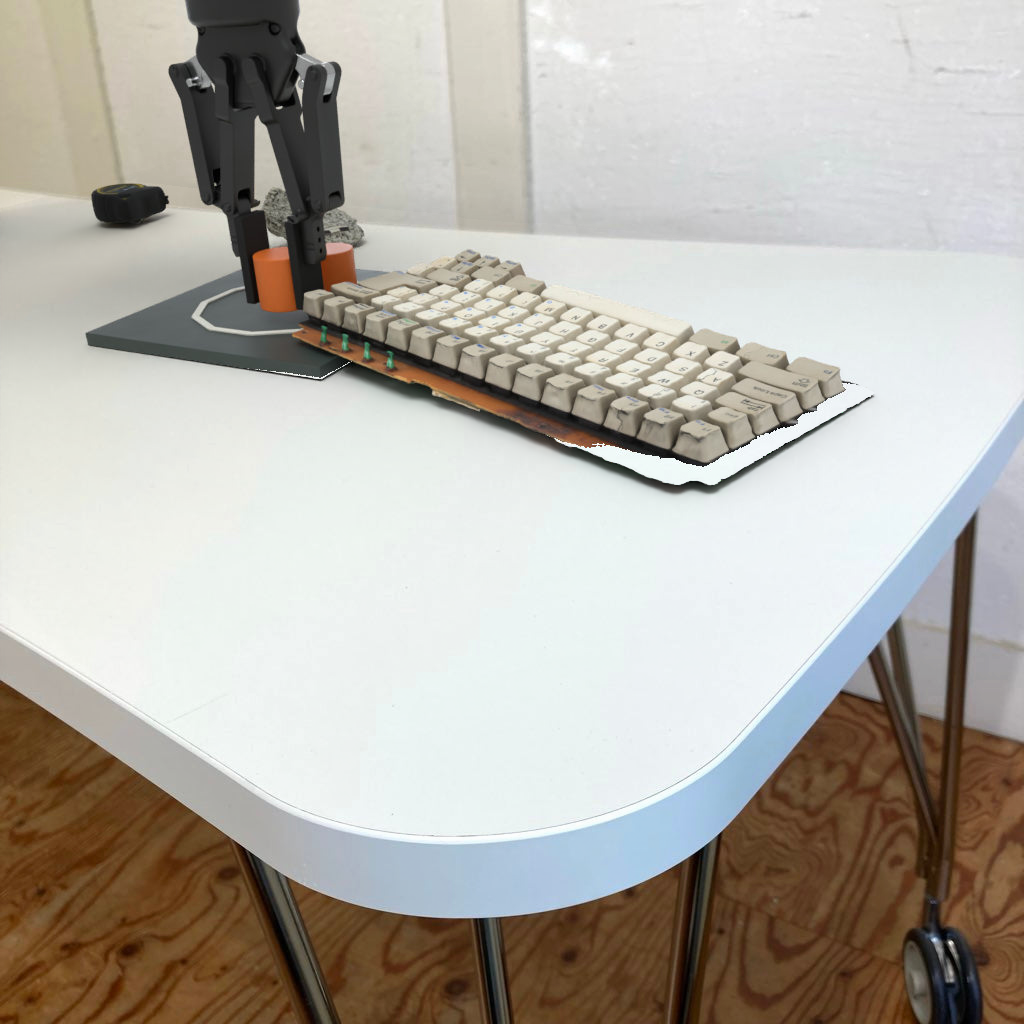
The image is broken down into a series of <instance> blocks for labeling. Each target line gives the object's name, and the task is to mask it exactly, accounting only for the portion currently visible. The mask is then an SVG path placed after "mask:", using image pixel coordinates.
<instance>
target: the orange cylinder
mask: <svg viewBox="0 0 1024 1024" xmlns="http://www.w3.org/2000/svg"><path fill="white" fill-rule="evenodd" d="M253 262H254V269H255V275H256V282H257V288H258V294H259V301H260V307H261V309H263V310H265V311H268V312H277V313H282V312H292V311H297V310H298V309H296V302H295V295H294V288H293V281H292V274H291V267H290V260H289V253H288V246H277V247H270V248H269V249H265V250H261V251H259V252H256V253H255V254H254V255H253Z"/></svg>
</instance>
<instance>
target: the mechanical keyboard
mask: <svg viewBox="0 0 1024 1024" xmlns="http://www.w3.org/2000/svg"><path fill="white" fill-rule="evenodd" d="M390 272H391V273H388V274H383V275H380V276H377V277H373V278H369V279H366V280H362V281H359V282H358V284H357V285H356V284H353V283H351V282H342V283H339V284H334V285H332V286H331V292H327V291H325V290H315V291H311V292H306V293H304V305H303V312H304V313H307V314H308V317H309V320H306V321H302V322H300V323H299V326H300V327H301V328H303V329H302V330H300V331H297V332H295V333H293V334H292V336H293V338H297V339H299V340H302V341H304V342H306V343H309V344H311V345H313V346H315V347H319V348H321V349H323V350H326V351H329V352H330V353H333V354H335V355H338V356H340V357H343V358H345V359H348V360H350V361H353V362H352V363H355V364H358V365H360V366H362V367H366V368H368V369H370V370H373V371H375V372H377V373H379V374H382V375H384V376H387V377H390V378H392V379H396V380H397V381H401V382H404V383H406V384H408V385H412V384H413V385H414V384H420V385H422V386H426V387H429V388H430V389H431V395H432V396H433V397H438V398H442V399H444V400H447V401H450V402H451V401H452V402H454V403H456V404H459V405H462V406H464V407H466V408H469V409H471V410H475V411H477V412H480V411H481V410H482V411H485V412H488V413H491V414H493V415H495V416H498V417H500V418H501V417H502V419H504V420H509V421H511V422H515V423H517V424H519V425H521V426H522V427H524V428H526V429H527V430H529V431H532V432H533V431H534V432H533V433H537V432H538V433H539V434H542V433H543V434H542V435H544V434H545V435H544V436H546V435H548V436H550V437H552V438H556V439H558V440H560V441H562V442H567V443H571V444H576V445H578V446H580V447H581V446H584V447H585V448H587V447H589V448H591V447H596V446H597V445H592V444H597V443H599V444H603V443H604V444H605V445H604V446H606V445H610V446H615V447H619V448H622V449H625V450H627V449H628V450H630V451H632V452H637V453H641V454H645V455H652V456H659V457H660V459H661V458H675V459H676V460H679V461H681V462H683V463H686V464H692V465H696V466H702V467H704V466H707V465H709V464H710V463H713V462H715V461H716V460H718V459H719V458H720V457H722V456H724V455H725V454H729V453H731V452H734V451H735V450H738V449H739V448H740V447H741V448H742V447H744V446H746V445H748V444H750V442H751V441H752V440H754V439H757V436H759V437H760V435H764V434H765V433H769V434H770V433H771V432H773V431H774V430H775V431H776V430H777V428H778V429H780V428H783V427H785V428H787V427H790V426H794V425H796V424H798V420H797V419H798V418H799V417H800V416H801V415H802V414H805V413H808V412H809V413H810V412H814V411H817V406H818V405H819V404H821V403H823V402H824V401H826V400H827V399H828V398H832V397H834V396H836V395H838V394H840V393H842V392H844V391H845V390H846V389H845V388H844V387H843V384H842V383H847V384H848V383H850V384H856V385H859V384H858V383H854V382H852V383H851V381H845V380H842V378H841V368H840V367H839V366H836V365H831V364H828V363H823V362H820V361H818V360H815V359H811V358H808V357H805V356H799V357H797V358H795V359H794V360H793V361H792V362H789V358H788V355H787V351H785V350H781V349H776V348H771V347H768V346H765V345H762V344H760V343H756V342H752V341H751V342H747V343H745V344H744V345H743V346H740V342H739V340H738V338H737V337H735V336H732V335H727V334H724V333H720V332H718V331H717V332H716V331H714V330H711V329H709V328H701V329H699V330H698V331H696V333H695V331H694V328H693V325H692V324H691V323H690V322H689V321H685V320H681V319H677V318H674V317H671V316H668V315H664V314H661V313H658V312H654V311H651V310H648V309H644V308H639V307H638V306H637V307H636V306H634V305H630V304H626V303H623V302H619V301H617V300H614V299H610V298H606V297H603V296H599V295H596V294H592V293H590V292H586V291H582V290H578V289H575V288H571V287H567V286H563V285H560V284H551V285H549V286H548V287H547V285H546V283H545V281H544V280H539V279H535V278H531V277H528V276H527V275H526V272H525V270H524V268H523V266H522V263H521V262H517V261H514V260H510V259H507V260H505V261H503V262H501V260H500V258H499V257H498V256H493V255H489V254H486V255H483V256H482V255H481V253H480V252H478V251H475V250H472V249H471V248H467V249H465V250H463V251H461V252H459V253H458V254H456V255H455V256H454V257H452V256H451V257H450V256H448V255H442V256H440V257H438V258H437V259H436V260H433V261H432V262H430V264H427V263H424V262H419V263H417V264H415V265H413V266H411V267H409V268H408V269H407V270H406V272H404V271H401V270H394V271H390ZM334 350H336V351H334ZM598 446H600V447H602V445H598Z"/></svg>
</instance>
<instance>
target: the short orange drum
mask: <svg viewBox="0 0 1024 1024" xmlns="http://www.w3.org/2000/svg"><path fill="white" fill-rule="evenodd" d="M326 249H327V256H326V260H324V261H321V268H322V276H323V284H324V290H325V291H327V292H331V286H332V285H334V284H339V283H342V282H351V283H353V284H356V285H357V276H356V269H357V268H356V259H355V250H354V246H352V245H350V244H346V243H326Z"/></svg>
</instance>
